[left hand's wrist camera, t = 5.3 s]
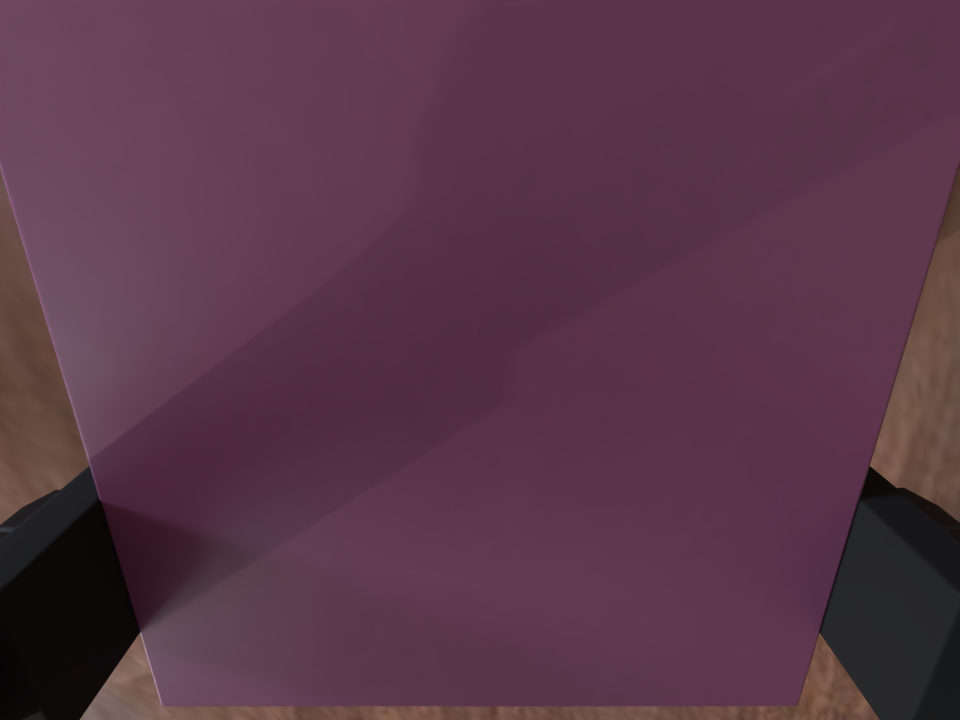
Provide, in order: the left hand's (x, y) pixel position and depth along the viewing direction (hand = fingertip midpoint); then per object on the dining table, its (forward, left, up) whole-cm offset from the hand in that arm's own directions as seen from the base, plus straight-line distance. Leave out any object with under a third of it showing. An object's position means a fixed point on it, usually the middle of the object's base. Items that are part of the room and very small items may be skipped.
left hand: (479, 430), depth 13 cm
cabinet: (+6, -1, -6) cm, 9 cm away
